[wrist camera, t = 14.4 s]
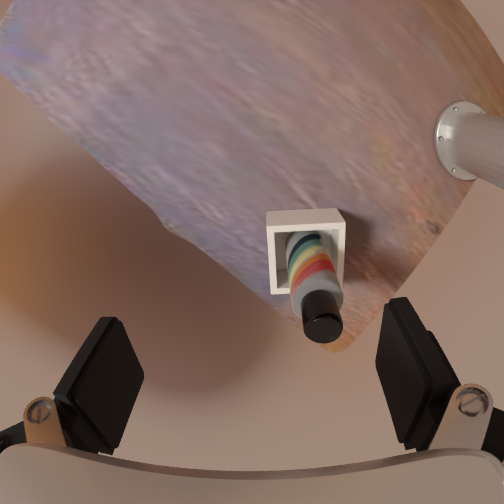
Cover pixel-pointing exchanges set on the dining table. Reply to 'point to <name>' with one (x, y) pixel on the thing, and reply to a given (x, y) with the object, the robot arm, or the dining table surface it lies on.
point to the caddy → (303, 220)
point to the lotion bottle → (314, 286)
